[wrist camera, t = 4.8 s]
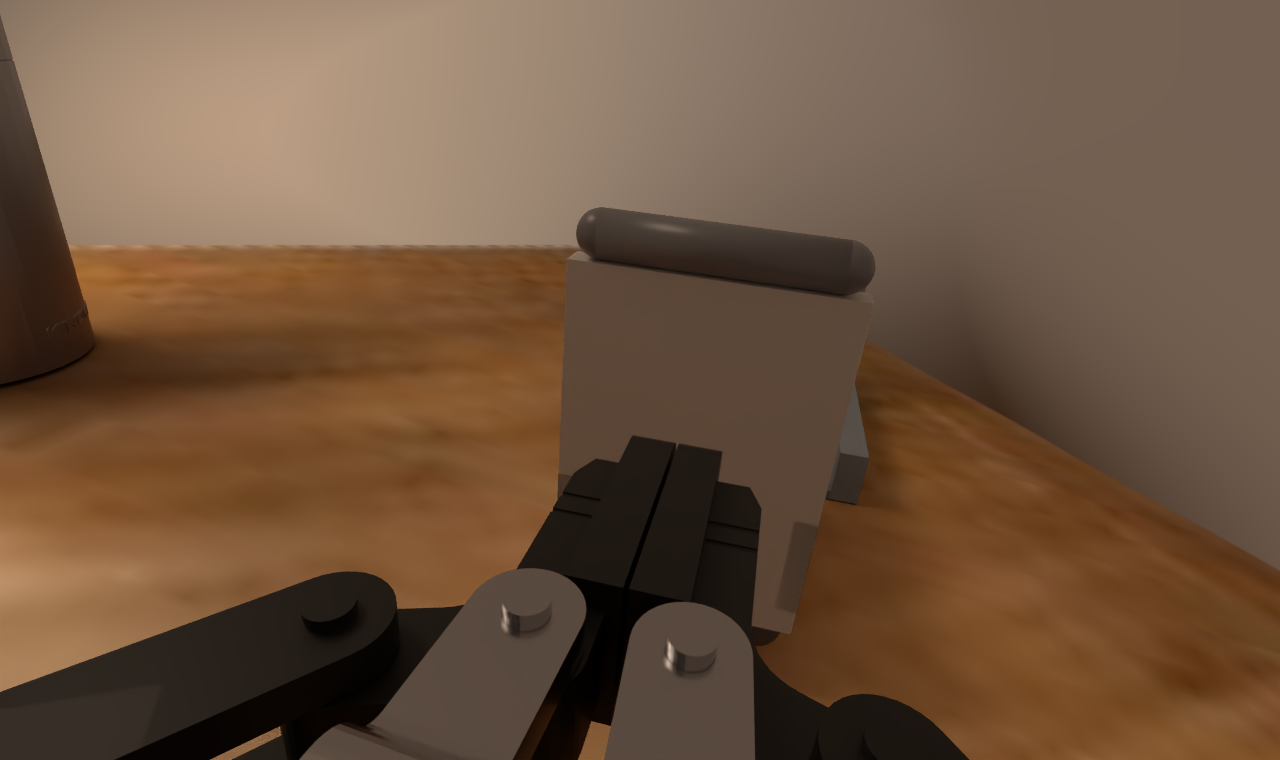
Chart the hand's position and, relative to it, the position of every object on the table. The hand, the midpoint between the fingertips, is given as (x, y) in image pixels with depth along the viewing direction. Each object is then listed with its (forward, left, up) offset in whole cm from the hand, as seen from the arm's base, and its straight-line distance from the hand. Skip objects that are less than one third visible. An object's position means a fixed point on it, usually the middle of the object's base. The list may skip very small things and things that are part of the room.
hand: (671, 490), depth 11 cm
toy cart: (+5, +9, -9) cm, 14 cm away
